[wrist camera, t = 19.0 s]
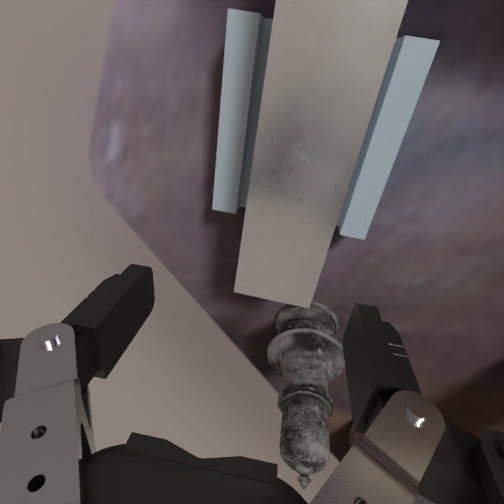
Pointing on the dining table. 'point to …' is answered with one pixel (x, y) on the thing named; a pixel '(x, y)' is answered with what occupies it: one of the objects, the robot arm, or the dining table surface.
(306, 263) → the bar
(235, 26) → the tray
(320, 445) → the grey chess piece
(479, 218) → the dining table surface
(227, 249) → the dining table surface
